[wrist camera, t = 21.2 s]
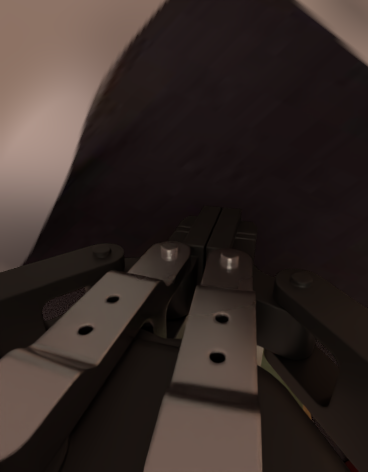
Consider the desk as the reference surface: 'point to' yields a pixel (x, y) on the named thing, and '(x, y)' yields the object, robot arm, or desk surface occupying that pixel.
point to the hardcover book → (351, 466)
